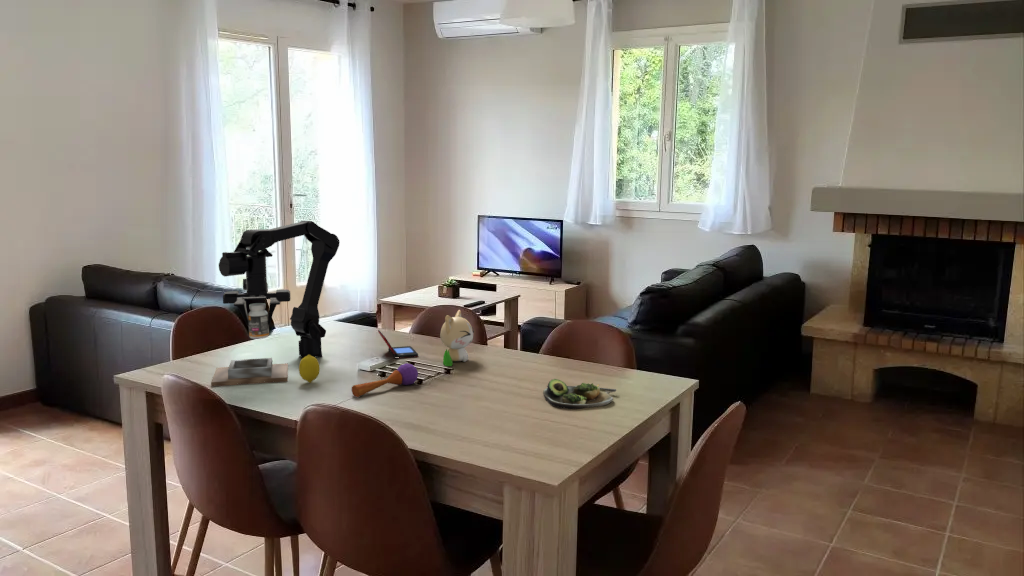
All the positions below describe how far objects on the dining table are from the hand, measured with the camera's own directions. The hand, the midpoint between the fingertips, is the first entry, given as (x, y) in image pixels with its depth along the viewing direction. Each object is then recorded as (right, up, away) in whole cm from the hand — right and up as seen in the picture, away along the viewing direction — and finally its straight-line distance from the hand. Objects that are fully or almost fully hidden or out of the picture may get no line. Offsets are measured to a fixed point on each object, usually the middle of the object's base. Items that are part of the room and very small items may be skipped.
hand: (258, 325), depth 238 cm
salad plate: (+91, -18, -30) cm, 98 cm away
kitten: (+58, -12, +9) cm, 60 cm away
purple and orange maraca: (+41, -17, -21) cm, 49 cm away
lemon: (+19, -15, -15) cm, 29 cm away
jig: (+1, -14, -9) cm, 17 cm away
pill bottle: (0, -4, +1) cm, 4 cm away
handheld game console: (+39, -10, +18) cm, 44 cm away
